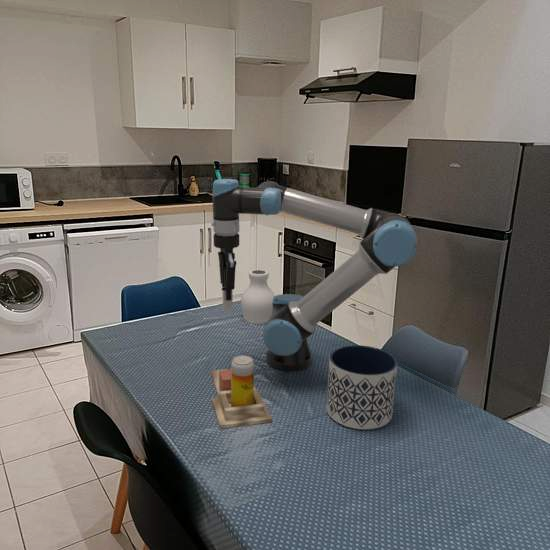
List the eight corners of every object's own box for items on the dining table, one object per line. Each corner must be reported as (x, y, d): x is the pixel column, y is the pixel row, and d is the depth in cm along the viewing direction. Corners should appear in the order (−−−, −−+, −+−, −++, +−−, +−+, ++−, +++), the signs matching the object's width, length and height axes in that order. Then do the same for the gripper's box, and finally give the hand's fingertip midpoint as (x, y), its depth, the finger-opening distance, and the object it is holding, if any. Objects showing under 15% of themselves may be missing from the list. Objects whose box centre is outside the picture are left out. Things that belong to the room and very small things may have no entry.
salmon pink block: (245, 385, 156) (245, 367, 154) (250, 395, 151) (250, 377, 149) (219, 388, 154) (219, 370, 152) (222, 399, 148) (222, 380, 147)
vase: (236, 324, 205) (236, 275, 199) (244, 311, 219) (245, 265, 213) (272, 327, 203) (273, 278, 197) (278, 314, 217) (279, 268, 211)
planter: (352, 389, 158) (356, 339, 153) (404, 413, 145) (410, 360, 140) (312, 411, 145) (315, 357, 140) (366, 439, 133) (371, 382, 128)
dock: (246, 369, 168) (247, 358, 167) (271, 422, 140) (271, 408, 138) (203, 374, 165) (203, 362, 163) (220, 428, 136) (219, 415, 135)
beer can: (251, 415, 140) (253, 365, 136) (229, 414, 141) (230, 364, 136) (253, 404, 146) (255, 355, 142) (232, 402, 147) (232, 354, 142)
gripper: (209, 229, 156) (211, 303, 163) (218, 238, 144) (220, 317, 151) (233, 228, 159) (234, 301, 165) (244, 237, 147) (245, 315, 154)
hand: (227, 309), depth 158 cm, fingers closed
